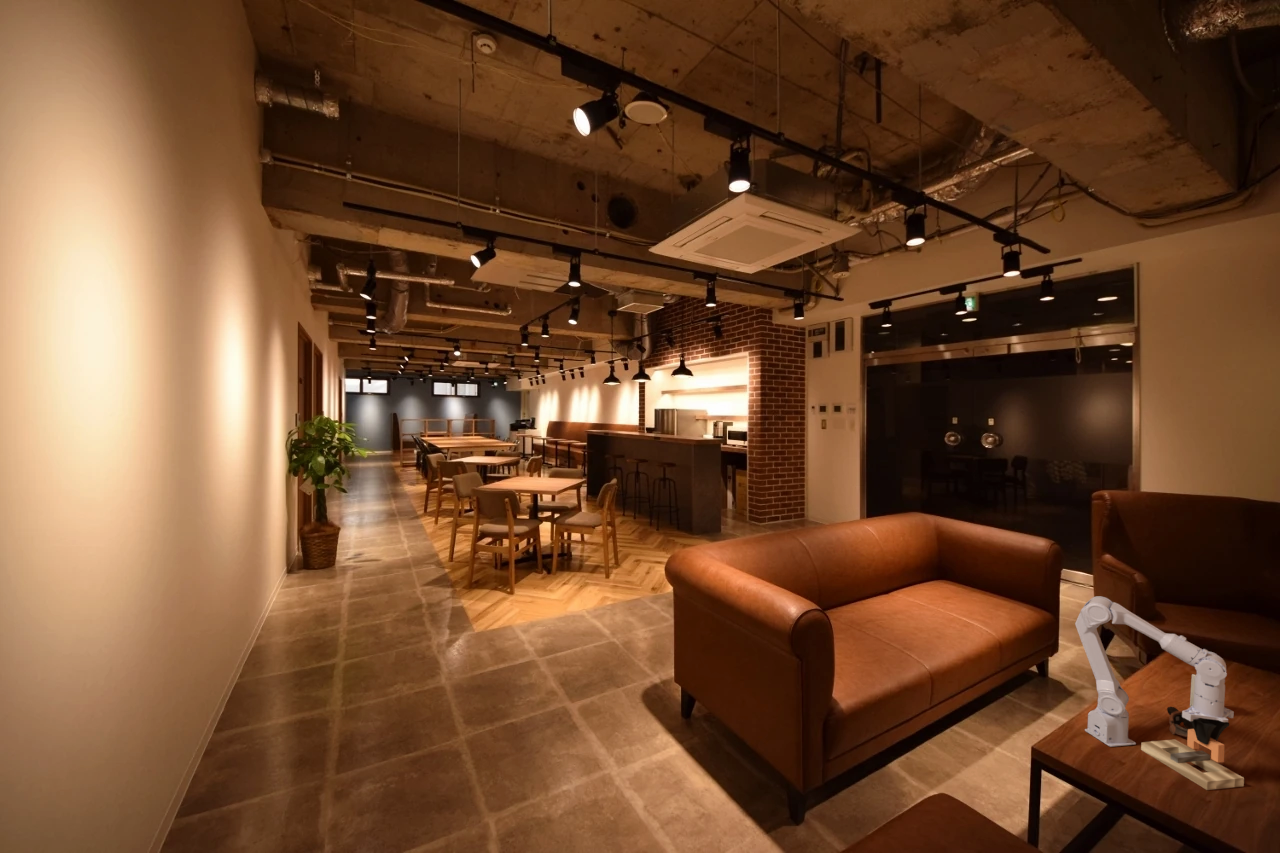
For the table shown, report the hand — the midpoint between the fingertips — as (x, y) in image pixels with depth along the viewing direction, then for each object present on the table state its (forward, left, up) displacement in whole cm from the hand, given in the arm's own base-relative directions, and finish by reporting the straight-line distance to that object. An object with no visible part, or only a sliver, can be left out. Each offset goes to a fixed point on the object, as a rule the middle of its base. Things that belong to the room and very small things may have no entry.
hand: (1206, 741), depth 140 cm
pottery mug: (+16, +16, -10) cm, 24 cm away
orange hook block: (0, 0, -4) cm, 4 cm away
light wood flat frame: (-2, +2, -9) cm, 10 cm away
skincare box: (+36, +24, -10) cm, 45 cm away
